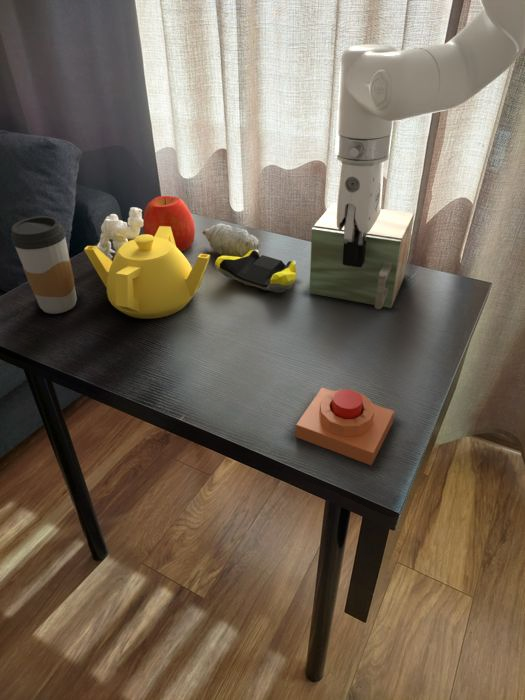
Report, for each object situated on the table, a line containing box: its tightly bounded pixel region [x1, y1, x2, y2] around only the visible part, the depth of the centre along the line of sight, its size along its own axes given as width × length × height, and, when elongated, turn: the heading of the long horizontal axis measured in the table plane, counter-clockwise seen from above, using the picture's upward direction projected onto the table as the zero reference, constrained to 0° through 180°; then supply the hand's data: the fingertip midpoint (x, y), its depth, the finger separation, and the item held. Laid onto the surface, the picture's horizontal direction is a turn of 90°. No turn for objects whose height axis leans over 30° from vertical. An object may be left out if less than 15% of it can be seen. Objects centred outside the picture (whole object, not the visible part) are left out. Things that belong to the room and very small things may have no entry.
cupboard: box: [313, 202, 415, 306], centre depth 93 cm, size 11×15×13 cm
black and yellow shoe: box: [214, 250, 297, 294], centre depth 95 cm, size 15×6×10 cm
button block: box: [295, 387, 395, 466], centre depth 66 cm, size 10×8×4 cm
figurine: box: [96, 206, 144, 261], centre depth 100 cm, size 10×5×12 cm, turn 80°
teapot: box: [83, 226, 211, 320], centre depth 90 cm, size 17×17×12 cm
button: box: [332, 388, 363, 419], centre depth 64 cm, size 4×4×2 cm
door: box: [309, 226, 402, 310], centre depth 86 cm, size 6×15×12 cm, turn 68°
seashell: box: [202, 222, 262, 257], centre depth 105 cm, size 6×14×8 cm, turn 52°
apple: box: [142, 195, 196, 252], centre depth 108 cm, size 11×11×11 cm
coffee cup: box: [10, 215, 78, 315], centre depth 88 cm, size 8×8×15 cm
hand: (353, 264), depth 84 cm, fingers closed
